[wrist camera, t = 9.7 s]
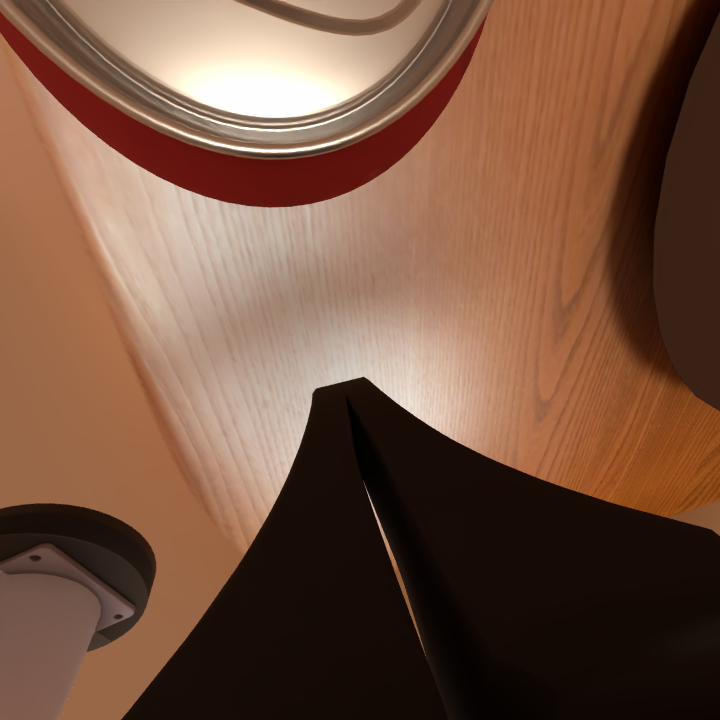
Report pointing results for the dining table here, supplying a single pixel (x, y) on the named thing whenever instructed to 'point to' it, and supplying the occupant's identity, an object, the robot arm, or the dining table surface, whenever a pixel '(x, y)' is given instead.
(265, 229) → the dining table surface
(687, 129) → the plate
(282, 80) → the soda can
